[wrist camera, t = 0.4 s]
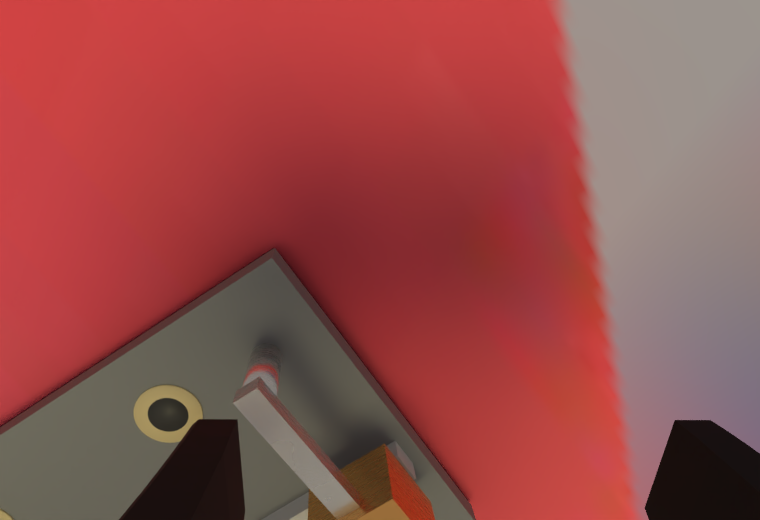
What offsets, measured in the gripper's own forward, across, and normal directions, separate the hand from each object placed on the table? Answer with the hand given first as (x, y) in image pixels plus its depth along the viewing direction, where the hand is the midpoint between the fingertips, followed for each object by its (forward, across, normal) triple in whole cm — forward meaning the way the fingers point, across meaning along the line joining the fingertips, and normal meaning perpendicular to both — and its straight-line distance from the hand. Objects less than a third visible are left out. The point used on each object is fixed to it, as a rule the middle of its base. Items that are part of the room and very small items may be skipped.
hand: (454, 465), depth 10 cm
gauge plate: (+8, +8, +11) cm, 16 cm away
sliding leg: (+8, +2, +6) cm, 10 cm away
